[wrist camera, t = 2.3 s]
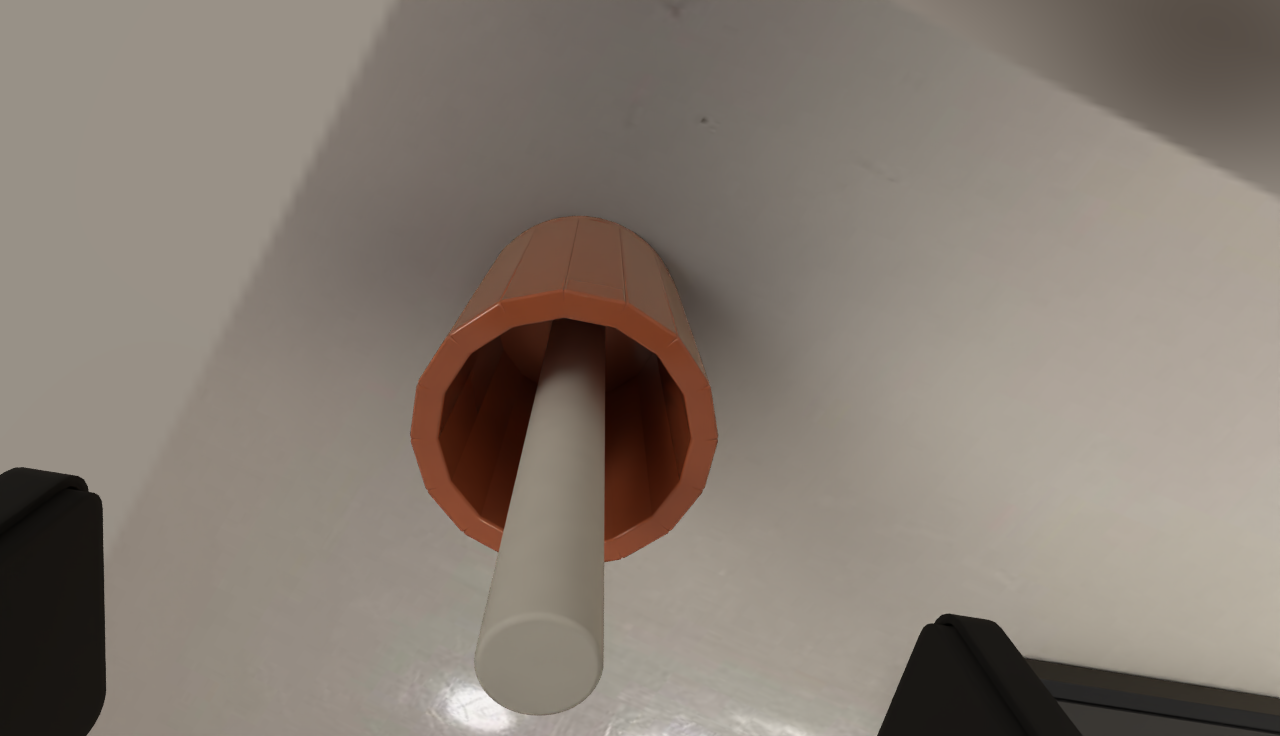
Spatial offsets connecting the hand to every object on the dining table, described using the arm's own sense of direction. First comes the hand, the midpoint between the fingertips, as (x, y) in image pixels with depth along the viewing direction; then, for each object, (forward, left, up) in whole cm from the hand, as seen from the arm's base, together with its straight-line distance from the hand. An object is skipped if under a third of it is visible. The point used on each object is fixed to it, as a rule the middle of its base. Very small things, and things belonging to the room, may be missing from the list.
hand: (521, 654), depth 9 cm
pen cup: (0, 0, -13) cm, 13 cm away
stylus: (0, 0, -13) cm, 13 cm away
